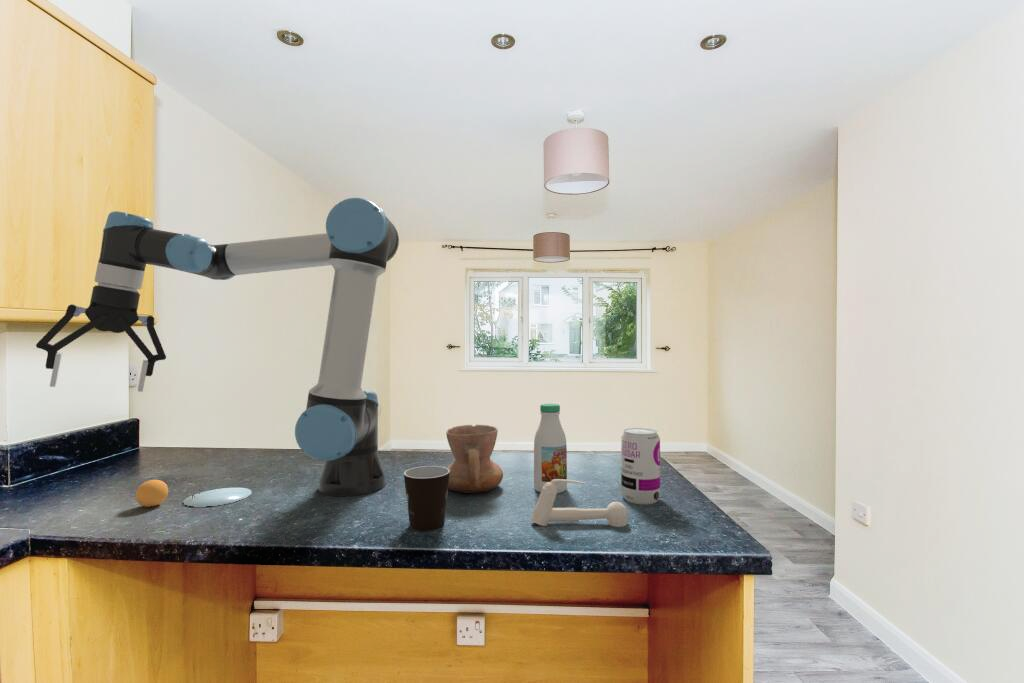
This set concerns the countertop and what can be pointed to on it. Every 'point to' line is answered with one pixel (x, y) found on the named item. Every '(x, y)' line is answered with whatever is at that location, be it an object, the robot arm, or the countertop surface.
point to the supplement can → (640, 466)
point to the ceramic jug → (473, 459)
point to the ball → (151, 493)
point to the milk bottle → (550, 449)
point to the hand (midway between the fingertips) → (98, 388)
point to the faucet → (574, 509)
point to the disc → (217, 497)
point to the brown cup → (426, 496)
